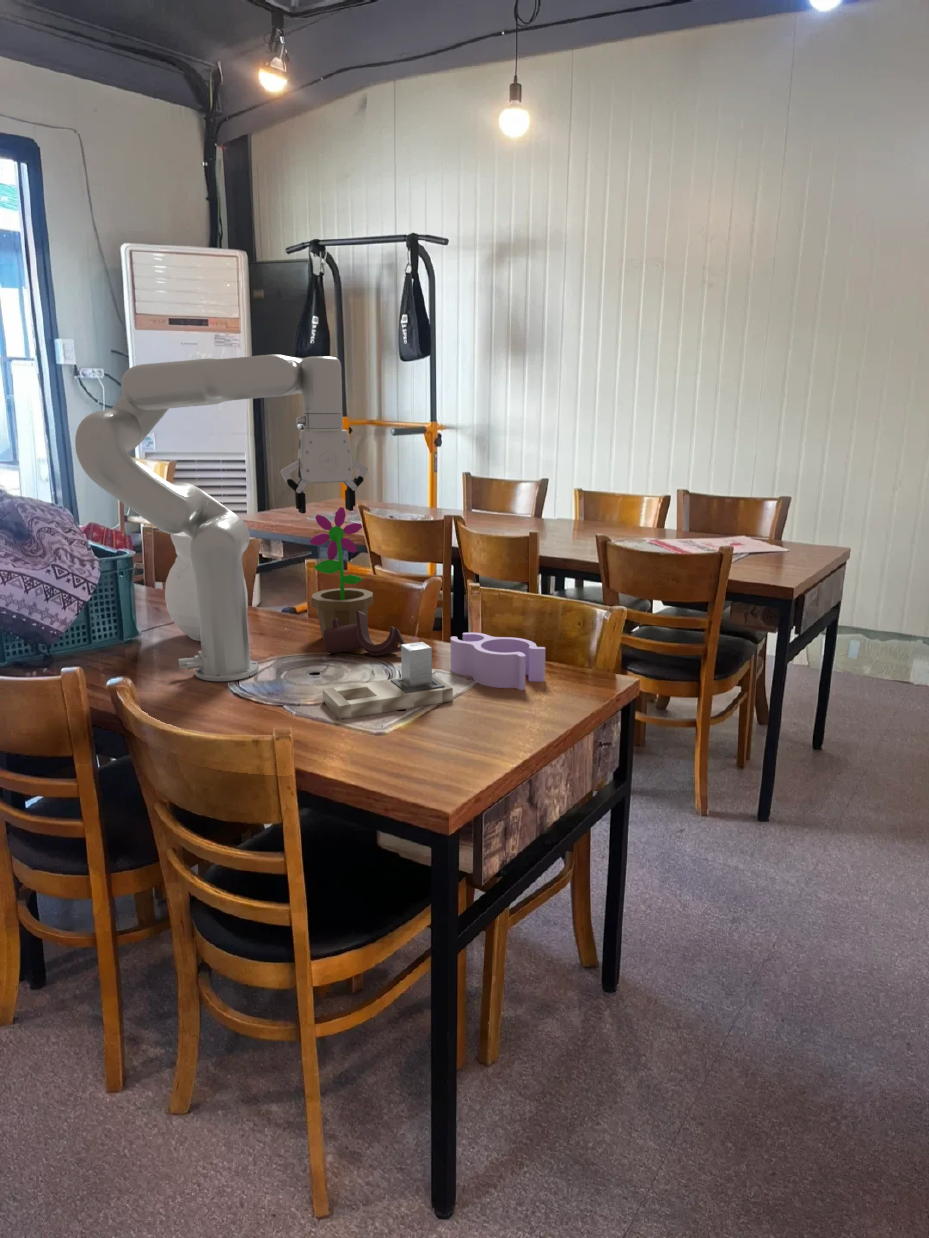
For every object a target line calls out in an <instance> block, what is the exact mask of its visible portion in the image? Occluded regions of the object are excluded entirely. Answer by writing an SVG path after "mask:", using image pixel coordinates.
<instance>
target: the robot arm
mask: <svg viewBox="0 0 929 1238" xmlns="http://www.w3.org/2000/svg"><path fill="white" fill-rule="evenodd" d="M120 381H121V382H120V388H121V393H122V395H121V396H120V397H119V398H118V400H117V401H116V402H115V404H113V406H112V407H111V408H110V409H108V410H107V409H106V410H105V409H104V410H99V411H95V412H92V413H90V414H88V415H87V416H85V417H84V418H83V419H82V420H81V421H80V423H79V424H78V426H77V429H76V433H75V436H74V437H75V439H74V443H75V453H76V456H77V459H78V462H79V464H80V466H81V467H82V470H83V471H84V472H85V474H86V475H87V476H88V478H89V479H91V480H92V481H93V482H94V484H96V485H98V487H100V488H101V489H103V490H104V491H105V492H107V493H108V494H109V495H111V496H113V497H114V498H115V499H117V500H119V501H120V502H121V503H122V504H123V505H124V506H126V507H127V508H128V509H130V510H131V511H133V512H135V513H136V514H137V515H138V516H140V517H141V518H143V519H144V520H145V521H147V522H149V524H151V525H152V526H153V527H155V528H156V529H158V530H159V531H160V532H162V533H165V534H168V535H171V534H178V533H181V532H184V533H186V534H187V535H189V536H190V537H191V538H192V540H191V546H190V552H191V559H192V564H193V569H194V575H195V582H196V592H197V601H198V614H199V626H200V638H201V641H200V647H201V650H198V651H197V652H198V653H197V654H196V655H193V657H183V658H178V659H177V662H178V668H179V669H184V668H186V670H193V669H195V670H194V671H195V672H194V673H195V677H196V678H198V679H200V680H203V681H208V682H230V681H231V682H233V681H237V680H243V679H247V678H250V677H252V676H254V675H256V674H257V673H258V672H259V663H257V661H254V660H253V659H252V660H251V650H250V649H251V648H250V637H249V636H250V635H249V624H248V623H249V621H248V608H247V604H246V592H245V583H246V580H245V581H244V579H245V574H244V568H243V561H242V555H243V554H244V553H245V551H246V550H247V548H248V546H249V545H250V540H251V538H250V537H251V535H250V534H251V533H250V531H249V527H248V525H247V524H246V522H245V521H244V520H243V519H242V518H241V517H240V516H239V515H237V514H236V513H235V512H233V511H232V510H231V509H229V508H228V507H226V506H225V505H223V504H222V502H221V503H220V502H219V501H217V499H216V498H214V497H212V496H211V495H210V494H209V493H207V492H206V491H204V490H203V489H201V488H199V487H198V486H196V485H194V484H192V483H188V482H183V481H176V482H170V481H168V480H166V479H165V478H164V477H162V476H160V475H159V474H158V473H156V472H155V471H153V470H152V469H151V468H150V467H148V466H146V465H145V464H144V463H142V462H140V461H138V460H137V459H135V458H133V457H132V456H131V455H129V453H128V452H130V451H132V450H134V449H136V448H137V447H138V446H140V444H141V443H142V442H143V441H144V440H145V439H146V438H147V436H148V435H149V434H150V433H151V431H152V430H153V429H154V428H155V426H157V424H158V423H159V421H161V419H162V418H163V417H164V416H165V414H166V413H168V411H169V409H177V408H178V409H179V408H187V407H199V406H212V405H219V404H221V403H225V402H230V401H240V400H250V399H262V398H263V399H264V398H274V397H285V396H287V397H288V396H293V395H298V394H299V395H300V394H301V395H302V414H301V416H298V417H297V416H296V418H295V424H296V425H300V426H302V428H303V429H301V430H300V431H299V437H298V449H297V451H298V452H297V460H296V461H294V462H292V463H290V464H288V465H286V466H285V467H284V468H281V470H279V473H280V475H281V476H282V478H283V480H284V482H285V484H286V485H287V486H288V487H289V488H291V489H292V490H293V492H294V495H295V496H294V497H295V498H294V499H295V508H296V510H298V513H300V514H302V515H303V514H306V513H307V505H306V504H307V502H306V500H307V499H306V493H305V492H304V490H305V488H306V487H307V486H308V484H328V483H333V484H334V483H343V484H344V486H346V489H345V490H344V501H345V504H344V505H345V506H344V509H345V510H348V511H350V512H353V511H354V507H356V491H357V490H358V488H359V487H360V485H362V483H363V482H364V479H365V477H366V475H367V473H368V471H369V468H368V467H367V466H365V465H363V464H361V463H360V462H357V461H355V460H354V459H352V458H353V457H352V448H351V447H352V446H351V444H350V443H351V441H350V437H349V432H348V430H347V429H344V424H343V421H344V419H343V418H344V417H343V415H344V414H343V388H342V387H343V386H342V385H343V379H342V363H341V361H340V359H339V358H337V357H334V356H321V355H319V356H307V357H303V358H302V357H295V356H288V355H283V354H273V353H272V354H265V355H264V354H262V355H253V356H252V355H251V356H240V357H231V358H230V357H228V358H197V359H196V358H195V359H189V360H177V361H165V362H154V363H153V362H152V363H142V364H137V365H134V366H130V367H129V368H128V369H127V370H125V372H124V373H123V375H122V378H121V380H120ZM354 469H355V470H356V471H357V475H356V476H355V477H354V478H353V475H354ZM296 470H297V477H298V480H297V482H295V480H293V478H292V476H291V474H292V473H293V472H294V471H296ZM249 676H250V677H249Z"/></svg>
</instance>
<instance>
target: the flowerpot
mask: <svg viewBox="0 0 929 1238" xmlns="http://www.w3.org/2000/svg"><path fill="white" fill-rule="evenodd" d="M345 510H346V509H345V507H342V506H340V507H338V509H337V510H336V512H335V513H334V514H335V515H334V519H333V521H334V524H335V526H333V525H332V522H331V521H330V520H329V519H328V518H327V517H325V516H324V515H321V514H316V515H315V516H314V517H315V521H316V523H317V525H318V526H320V528H322V529H323V530H324V531H328V533H324V532H322V533H318V534H316V535H314V536H313V537H312V538H311V539H310V540H309V542H310V545H313V546H320V545H323V544H326V543H327V542H328V541H329V540H331V542H330V543H329V544H328V547H327V550H326V551H327V552H326V555H327V559H328V560H323V561H321V562H319V563H317V564H316V565H315V566H314V570H317V571H318V572H321V573H322V574H335V573H337V572H339V587H337V588H330V589H323V590H320V591H317V592H314V593H312V596H311V607H313V608H315V609H316V610H317V616H318V621H319V628H320V632H321V638H323V631H324V630H325V629H330V628H333V627H332V619H335V618H338V619H339V622H340V627H341V626H346V625H351V624H356V611H360V612H362V613H364V614H366V618H367V619H368V614H369V607H370V606H373V604H374V598H373V597H374V596H373V594H374V592H373V591H371V590H367V589H363V588H352V587H345V584H347V585H354V584H355V585H356V584H358V583H359V582H361V581H363V578H362V577H360V576H358V575H356V574H355V575H354V574H346V575H345V573H344V561H343V550H342V547H343V548H344V549H345V550H346V551H347V552H350V553H353V554H354V553H356V552H357V551H358V549H357V546H356V543H354V542H353V541H352V540H351V539H350V538H348V537H344V535H353V534H356V533H358V532H360V530H361V529H362V528H363V524H362V523H359V522H352V523H349V524H347V525H345V526H344V527H343V528H342V526H343V525H344V524H345V519H346V511H345ZM337 555H338V560H334V559H335V558H336V557H337Z"/></svg>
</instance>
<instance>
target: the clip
mask: <svg viewBox="0 0 929 1238" xmlns="http://www.w3.org/2000/svg"><path fill="white" fill-rule="evenodd" d="M450 671H451V672H452V673H454V674H457V675H463V676H468V677H471V678H473V679H474V681H475V682H476V681H477V682H476V683H478V684H480V685H482V686H486V687H491V688H498V689H499V688H501V689H512V688H513V689H515V688H516V689H517V690H520V691H524V690H526V676H527V677H528V678H527V679H528V680H527V681H529V682H539V683H541V682H545V681H546V647H545V646H537V644H536V642H534V641H531V640H528V639H526V638H521V637H514V636H513V637H511V636H510V637H509V636H507V637H506V636H492V635H489V634H485V633H482V632H463V633H462V639H458V636H450Z"/></svg>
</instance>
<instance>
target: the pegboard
mask: <svg viewBox="0 0 929 1238" xmlns="http://www.w3.org/2000/svg"><path fill="white" fill-rule="evenodd" d="M322 701H324V702H325V704H326V705H327V706H328V707H329V708H330V709H329V708H328V707H327V706H326V705H325V704H324V705H325V706H326V707H327V708H328V709H329V710H330V711H331V712H332V711H333V712H334V713H335V714H334V713H333V712H332V713H333V714H334V715H335V716H336V717H337V718H338V719H339V718H340V719H339V720H342V719H341V718H346V719H351V718H357V717H362V716H363V717H364V716H368V715H375V714H380V713H387V712H393V711H394V712H395V711H399V710H405V709H411V707H412V708H418V707H424V706H429V705H435V704H440V703H448V702H453V701H454V689H453V687H452V686H450V685H449V684H447V683H446V682H445V681H443V680H442V679H441V678H439V677H438V676H436V675H435V674H433V673H432V686H428V687H421V688H415V689H408V688H407V687H405V686H404V685H403V684H402V677H397V678H390V679H384V680H383V679H382V680H377V681H370V682H369V681H368V682H364V683H357V684H350V685H349V684H348V685H344V686H343V685H342V686H337V687H331V688H329V687H328V688H325V689H324V688H323V689H322ZM324 702H323V703H324ZM423 705H424V706H423ZM417 706H418V707H417Z"/></svg>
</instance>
